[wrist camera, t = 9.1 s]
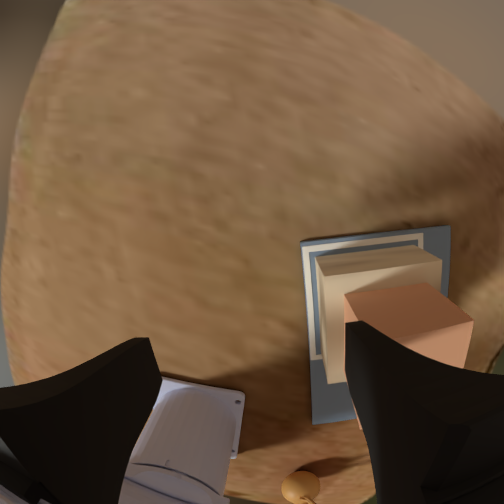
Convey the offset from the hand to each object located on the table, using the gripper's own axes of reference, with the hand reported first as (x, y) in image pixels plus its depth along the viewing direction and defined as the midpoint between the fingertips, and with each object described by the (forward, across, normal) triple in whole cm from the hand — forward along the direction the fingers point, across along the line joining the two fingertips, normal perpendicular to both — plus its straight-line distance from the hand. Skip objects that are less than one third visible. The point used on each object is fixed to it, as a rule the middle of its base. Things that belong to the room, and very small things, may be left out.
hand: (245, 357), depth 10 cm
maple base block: (+10, -7, +3) cm, 12 cm away
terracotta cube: (+6, -7, +3) cm, 9 cm away
